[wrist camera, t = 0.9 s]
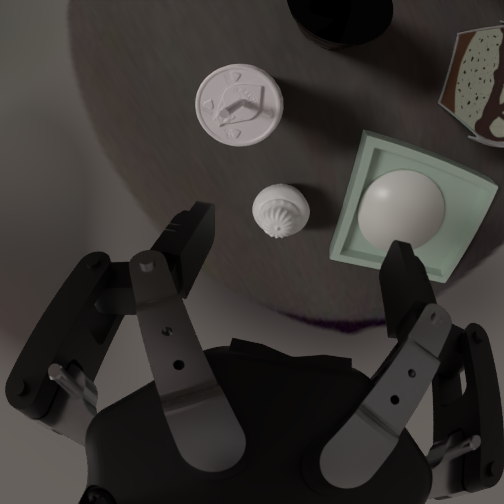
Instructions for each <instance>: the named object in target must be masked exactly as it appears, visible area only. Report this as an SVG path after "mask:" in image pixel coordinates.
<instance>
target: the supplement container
mask: <svg viewBox="0 0 504 504" xmlns="http://www.w3.org/2000/svg"><path fill="white" fill-rule="evenodd" d="M287 3H288V6H289V9H290V11H291V14H292V16H293V17H294V19H295V21H296V23H297V25H298V27H299V29H300V31H301V32H302V34H303V35H304V36H305V37H306V38H307V39H308V40H309V41H311V42H312V43H314V44H316V45H318V46H320V47H323V48H326V49H332V50H340V49H346V48H349V47H352V46H355V45H360V44H364V43H366V42H369V41H371V40H373V39H375V38H377V37H379V36H380V35H381V34H382V33H384V32H385V30H386V29H387V28H388V26H389V25H390V23H391V20H392V17H393V3H392V0H287Z"/></svg>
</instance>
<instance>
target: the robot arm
mask: <svg viewBox="0 0 504 504" xmlns="http://www.w3.org/2000/svg"><path fill="white" fill-rule="evenodd" d="M214 236H215V206H214V204H213V203H207V202H200V201H197V202H196V203H195V204H194V205H193V207H192V208H191V210H190V211H186V210H184V211H182V212H180V213H179V214H177V215H176V216H175V217H174V218H173V219H172V220H171V222H170V224H168V226H167V227H166V228H165V230H164V231H163V233H162V234H161V235H160V237H159V238H158V239H157V241H156V242H155V243H154V245H153V246H152V248H151V249H150V250H146V251H142V252H139V253H138V254H136V255H135V256H133V257H132V259H131V260H130V262H111V260H110V258H109V256H108V254H106V253H104V252H93V253H90V254H88V255H86V256H85V257H83V258H82V259H81V260H80V262H79V263H78V264H77V266H76V267H75V268H74V270H73V271H72V272H71V274H70V275H69V277H68V278H67V279H66V281H65V282H64V284H63V285H62V287H61V288H60V289H59V291H58V292H57V294H56V295H55V297H54V298H53V300H52V301H51V303H50V304H49V306H48V307H47V309H46V311H45V312H44V314H43V315H42V317H41V319H40V320H39V322H38V323H37V325H36V327H35V329H34V330H33V332H32V334H31V335H30V337H29V339H28V341H27V343H26V344H25V346H24V348H23V350H22V351H21V353H20V355H19V357H18V359H17V361H16V363H15V365H14V367H13V369H12V371H11V373H10V375H9V377H8V379H7V382H6V387H5V393H6V397H7V400H8V402H9V403H10V404H11V406H13V407H14V408H15V409H17V410H19V411H20V412H22V413H23V414H25V416H27V417H28V418H30V419H31V420H33V421H34V422H36V423H38V424H40V425H41V426H43V427H45V428H47V429H50V430H52V431H54V432H56V433H58V434H61V435H64V436H66V437H68V438H70V439H72V440H74V441H75V442H77V443H79V444H81V445H83V446H85V449H86V455H87V464H88V478H87V485H86V489H85V491H84V494H83V495H82V497H81V499H80V501H79V503H78V504H425V502H426V500H427V499H432V498H434V499H436V500H441V499H447V498H452V497H457V496H461V495H465V494H469V493H473V492H477V491H480V490H483V489H487V488H490V487H493V486H494V485H496V484H497V482H498V481H499V480H500V478H501V476H502V473H503V470H504V429H503V416H502V407H501V398H500V391H499V385H498V379H497V373H496V369H495V363H494V359H493V354H492V350H491V346H490V343H489V338H488V336H487V333H486V332H485V330H484V329H483V328H482V327H481V326H480V325H478V324H476V323H470V324H469V325H468V326H467V327H466V328H465V330H464V329H462V328H460V327H458V326H455V325H454V324H452V320H451V317H450V315H449V313H448V312H447V311H446V310H445V309H444V308H443V307H441V306H440V305H438V304H437V302H436V299H435V296H434V293H433V290H432V287H431V283H430V282H429V278H428V275H427V272H426V269H425V266H424V264H423V263H422V262H421V260H420V259H419V258H418V256H415V254H414V252H413V249H412V246H411V244H410V243H407V242H403V241H399V240H394V241H393V242H392V244H391V246H390V248H389V250H388V252H387V255H386V257H385V259H384V261H383V263H382V265H381V268H380V272H379V280H380V286H381V292H382V298H383V304H384V311H385V318H386V325H387V333H388V337H389V338H397V339H398V343H397V344H396V345H395V346H394V348H393V349H392V351H391V352H390V353H389V355H388V356H387V358H386V359H385V360H384V362H383V363H382V364H381V366H380V367H379V368H378V370H377V371H376V372H375V374H374V375H373V376H372V377H371V378H369V377H367V376H366V375H365V374H363V373H362V372H360V371H358V370H357V369H355V368H352V359H351V358H344V357H336V356H329V355H316V356H302V357H292V356H289V355H286V354H284V353H282V352H279V351H277V350H275V349H272V348H270V347H268V346H266V345H263V344H259V343H254V342H250V341H245V340H240V339H236V338H232V341H231V344H230V346H221V347H215V348H211V349H207V350H204V351H203V350H202V347H201V345H200V342H199V340H198V338H197V335H196V333H195V330H194V328H193V326H192V323H191V321H190V318H189V315H188V313H187V310H186V308H185V305H184V303H183V300H182V298H184V299H186V298H187V296H188V294H189V292H190V290H191V288H192V286H193V284H194V282H195V279H196V277H197V275H198V273H199V271H200V269H201V267H202V265H203V263H204V261H205V259H206V257H207V255H208V253H209V251H210V249H211V247H212V244H213V241H214ZM125 315H137V318H138V322H139V326H140V330H141V334H142V338H143V342H144V346H145V350H146V353H147V357H148V361H149V364H150V367H151V371H152V374H153V377H154V380H153V381H152V382H150V383H148V384H147V385H145V386H143V387H142V388H140V389H138V390H137V391H135V392H133V393H132V394H130V395H128V396H126V397H124V398H122V399H121V400H119V401H117V402H116V403H114V404H112V405H110V406H108V407H106V408H105V409H103V410H101V411H100V412H99V413H98V414H97V410H96V404H97V399H98V391H97V388H96V386H95V384H94V383H93V382H94V380H95V377H96V375H97V373H98V370H99V368H100V366H101V364H102V361H103V359H104V357H105V355H106V353H107V351H108V348H109V346H110V344H111V342H112V340H113V337H114V336H115V334H116V331H117V330H118V328H119V325H120V323H121V321H122V319H123V317H124V316H125ZM463 370H465V375H466V382H467V386H466V390H465V392H464V394H463V395H462V389H461V380H460V373H461V372H462V371H463ZM431 381H432V392H433V421H434V423H433V425H434V426H433V429H434V430H433V445H432V447H431V448H430V450H429V453H428V455H427V456H424V454H423V453H422V451H421V450H420V448H419V447H418V445H417V444H416V442H415V441H414V439H413V438H412V436H411V435H410V433H409V432H408V430H407V429H406V428H405V426H406V424H407V422H408V421H409V419H410V418H411V416H412V415H413V413H414V411H415V410H416V408H417V406H418V404H419V403H420V401H421V399H422V397H423V396H424V394H425V392H426V390H427V389H428V387H429V385H430V383H431Z"/></svg>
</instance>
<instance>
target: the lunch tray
mask: <svg viewBox="0 0 504 504" xmlns="http://www.w3.org/2000/svg"><path fill="white" fill-rule="evenodd" d="M497 189H498V186H497V185H496V184H495V183H494V182H493V181H492V180H491V179H490V178H489V177H488V176H486V175H484V174H482V173H480V172H478V171H476V170H473V169H471V168H469V167H467V166H465V165H463V164H460V163H458V162H456V161H454V160H451V159H449V158H446V157H444V156H442V155H439V154H437V153H434V152H431V151H429V150H426V149H424V148H421V147H418V146H415V145H413V144H410V143H407V142H404V141H401V140H398V139H395V138H392V137H388V136H385V135H382V134H379V133H375V132H372V131H368V130H364V129H363V132H362V136H361V140H360V144H359V148H358V152H357V156H356V160H355V164H354V167H353V171H352V175H351V178H350V182H349V185H348V189H347V192H346V196H345V199H344V203H343V206H342V209H341V213H340V216H339V219H338V222H337V225H336V229H335V232H334V235H333V238H332V241H331V244H330V259H331V260H336V261H341V262H346V263H351V264H356V265H361V266H366V267H370V268H375V269H380V268H381V265H382V263H383V261H384V259H385V257H386V255H387V252H388V250H389V248H390V246H391V244H392V242H393V241H394V240H399V241H403V242H407V243H410V244H411V246H412V249H413V252H414V254H415V256H418V258H419V259H420V260H421V262H422V263H423V264H424V266H425V269H426V272H427V275H428V278H429V280H432V281H437V282H442V283H445V282H446V281H447V279H448V278H449V276H450V275H451V273H452V272H453V270H454V269H455V267H456V266H457V264H458V263H459V261H460V259H461V258H462V256H463V254H464V253H465V251H466V249H467V248H468V246H469V244H470V243H471V241H472V239H473V237H474V236H475V234H476V232H477V230H478V228H479V226H480V224H481V223H482V221H483V219H484V217H485V215H486V213H487V211H488V209H489V207H490V204H491V202H492V200H493V198H494V196H495V194H496V191H497Z"/></svg>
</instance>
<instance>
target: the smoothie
mask: <svg viewBox="0 0 504 504" xmlns="http://www.w3.org/2000/svg"><path fill="white" fill-rule="evenodd" d="M195 106H196V113H197V117H198V119H199V122H200V124H201V125H202V127H203V128H204V129H205V131H206V132H207V133H208V134H209V135H210V136H212V137H213V138H214V139H216V140H218V141H219V142H222V143H224V144H227V145H231V146H248V145H252V144H255V143H258V142H260V141H262V140H263V139H265V138H266V137H268V136H269V135H270V134H271V133H272V132H273V131H274V130H275V128H276V127H277V125H278V123H279V122H280V120H281V117H282V113H283V97H282V94H281V91H280V88H279V86H278V85H277V83H276V82H275V80H274V79H273V78H272V77H271V76H270V75H269V74H267V73H266V72H265V71H264V70H262V69H259V68H257V67H255V66H252V65H246V64H232V65H228V66H225V67H222V68H220V69H217V70H216V71H214V72H212V73H211V74H210V75H209V76H207V77H206V78H205V80H204V81H203V82H202V84H201V85H200V87H199V89H198V92H197V95H196V103H195Z"/></svg>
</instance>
